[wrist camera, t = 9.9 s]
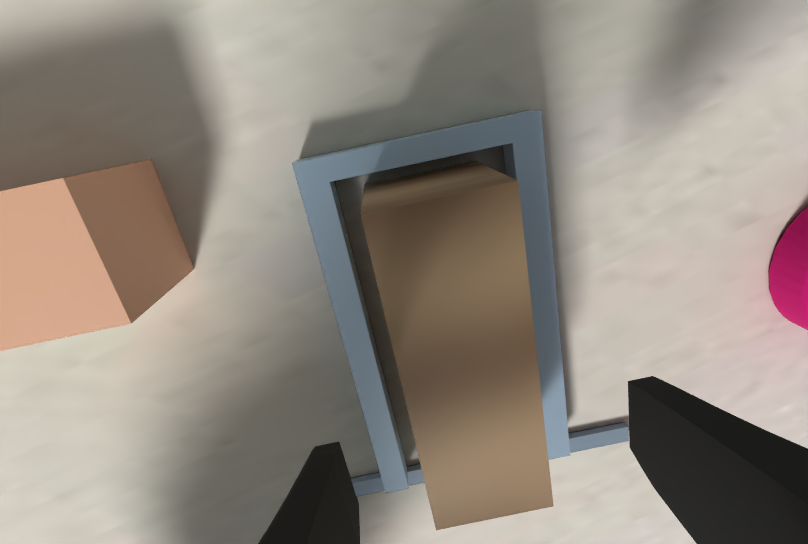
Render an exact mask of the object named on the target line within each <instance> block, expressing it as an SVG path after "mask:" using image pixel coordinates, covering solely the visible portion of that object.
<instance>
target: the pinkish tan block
mask: <svg viewBox="0 0 808 544" xmlns="http://www.w3.org/2000/svg"><path fill="white" fill-rule="evenodd" d="M192 270H194V267H193V265H192V262H191V260H190V257H189V254H188V252H187V249H186V247H185V244H184V242H183V239H182V237H181V234H180V232H179V229H178V226H177V224H176V221H175V219H174V216H173V214H172V211H171V209H170V206H169V203H168V201H167V198H166V196H165V193H164V191H163V188H162V186H161V183H160V181H159V178H158V175H157V173H156V170H155V168H154V165H153V163H152V160H151V159H150V160H146V161H141V162H136V163H131V164H127V165H122V166H117V167H112V168H108V169H103V170H98V171H93V172H89V173H84V174H79V175H74V176H70V177H65V178H60V179H55V180H51V181H46V182H41V183H37V184H32V185H27V186H22V187H18V188H13V189H8V190H4V191H0V351H2V350H7V349H11V348H16V347H21V346H26V345H31V344H35V343H40V342H45V341H50V340H55V339H59V338H64V337H69V336H74V335H79V334H83V333H88V332H93V331H98V330H102V329H107V328H112V327H117V326H122V325H126V324H131V323H132V322H134V321H135V320H136V319H137V318H138V317H139V316H140V315H142V314H143V313H144V312H145V311H146V310H147V309H149V308H150V307H151V306H152V305H153V304H154V303H155V302H157V301H158V300H159V299H160V298H161V297H162V296H164V295H165V294H166V293H167V292H168V291H169V290H171V289H172V288H173V287H174V286H175V285H176V284H177V283H179V282H180V281H181V280H182V279H183V278H184V277H186V276H187V275H188V274H189V273H190V272H191V271H192Z"/></svg>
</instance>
